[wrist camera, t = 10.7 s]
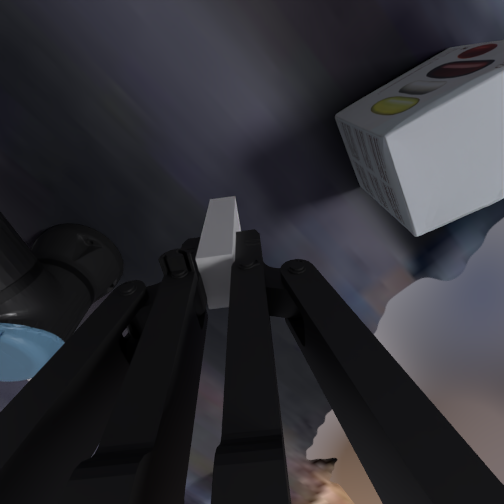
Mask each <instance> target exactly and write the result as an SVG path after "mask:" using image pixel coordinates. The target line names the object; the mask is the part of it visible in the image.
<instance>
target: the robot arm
mask: <svg viewBox="0 0 504 504" xmlns="http://www.w3.org/2000/svg"><path fill="white" fill-rule="evenodd" d="M158 260H159V263H160V265H161V268H162V271H163V274H164V277H163V280H162V282H160V283H158V284H155V285H152V286H149V287H146V286H145V284H144V283H143V282H142V281H139V280H134V281H128V282H125V283H123V284H121V285H119V286H118V287H117V288H116V289H114V290H113V291H112V293H111V294H110V295H109V296H108V297H107V298H106V299H105V300H104V301H103V302H102V303H101V304H100V305H99V307H98V308H97V309H96V310H95V311H94V312H93V313H92V314H91V315H90V316H89V317H88V318H87V320H86V321H85V322H84V323H83V324H82V325H81V326H80V327H79V328H78V329H77V330H76V328H77V327H78V325H79V323H80V322H81V320H82V319H83V317H84V316H85V314H86V313H87V311H88V309H89V308H90V306H91V305H92V304H93V303H94V302H96V301H97V300H99V299H100V298H102V297H103V296H104V295H106V294H107V293H109V292H110V291H111V290H112V289H113V288H114V287H115V286H116V285H117V283H118V281H119V280H120V278H121V276H122V273H123V260H122V257H121V254H120V252H119V251H118V249H117V247H116V246H115V245H114V244H113V243H112V242H111V241H110V240H109V239H108V238H107V237H106V236H104V235H103V234H101V233H100V232H98V231H96V230H94V229H92V228H89V227H87V226H83V225H79V224H60V225H56V226H53V227H51V228H49V229H48V230H46V231H45V232H44V233H43V234H41V235H40V236H39V237H38V238H37V239H36V241H35V242H34V244H33V246H32V248H31V250H30V249H29V247H28V246H27V245H26V244H25V242H24V241H23V240H22V239H21V237H20V236H19V235H18V233H17V232H16V231H15V230H14V228H13V227H12V226H11V224H10V223H9V222H8V221H7V219H6V218H5V217H4V216H3V214H2V213H1V212H0V381H21V380H27V379H30V378H32V379H31V380H30V381H29V382H28V383H27V384H26V385H25V386H24V387H23V389H22V390H21V391H20V392H19V393H18V394H17V395H16V396H15V397H14V398H13V399H12V400H11V401H10V403H9V404H8V405H7V406H6V407H5V408H4V409H3V410H2V411H1V412H0V504H184V495H185V486H186V478H187V471H188V463H189V456H190V448H191V441H192V433H193V426H194V419H195V411H196V404H197V396H198V389H199V381H200V374H201V366H202V359H203V351H204V344H205V336H206V329H207V321H208V314H207V310H206V303H208V307H209V309H215V308H223V307H229V315H228V332H227V350H226V367H225V385H224V402H223V420H222V436H221V443H220V445H219V446H218V447H217V449H216V453H215V459H214V468H213V482H212V496H211V504H291V497H290V489H289V481H288V472H287V463H286V455H285V446H284V437H283V429H282V420H281V411H280V402H279V394H278V385H277V376H276V368H275V359H274V350H273V342H272V333H271V324H270V316H276V317H284V318H285V321H286V323H287V325H288V327H289V329H290V331H291V333H292V335H293V336H294V338H295V340H296V342H297V344H298V346H299V348H300V349H301V351H302V353H303V355H304V357H305V359H306V361H307V363H308V364H309V366H310V368H311V370H312V372H313V374H314V376H315V378H316V379H317V381H318V383H319V385H320V387H321V389H322V391H323V393H324V394H325V396H326V398H327V400H328V402H329V404H330V406H331V407H332V409H333V411H334V413H335V415H336V417H337V418H338V421H339V422H340V424H341V426H342V428H343V430H344V432H345V434H346V436H347V437H348V439H349V441H350V443H351V445H352V447H353V449H354V451H355V452H356V454H357V456H358V458H359V460H360V462H361V464H362V466H363V467H364V469H365V471H366V473H367V475H368V477H369V479H370V480H371V482H372V484H373V486H374V488H375V490H376V492H377V493H378V495H379V497H380V499H381V501H382V503H383V504H504V485H503V484H502V483H501V482H500V481H499V480H498V478H497V477H496V476H495V475H494V474H493V473H492V472H491V470H490V469H489V468H488V467H487V466H486V465H485V463H484V462H483V461H482V460H481V459H480V458H479V457H478V455H477V454H476V453H475V452H474V451H473V450H472V448H471V447H470V446H469V445H468V444H467V443H466V441H465V440H464V439H463V438H462V437H461V436H460V435H459V433H458V432H457V431H456V430H455V429H454V427H453V426H452V425H451V424H450V423H449V422H448V421H447V419H446V418H445V417H444V416H443V415H442V414H441V413H440V411H439V410H438V409H437V408H436V407H435V405H434V404H433V403H432V402H431V401H430V400H429V399H428V397H427V396H426V395H425V394H424V393H423V392H422V391H421V390H420V388H419V387H418V386H417V385H416V384H415V382H414V381H413V380H412V379H411V378H410V377H409V375H408V374H407V373H406V372H405V371H404V370H403V368H402V367H401V366H400V365H399V364H398V363H397V361H396V360H395V359H394V358H393V357H392V356H391V354H390V353H389V352H388V351H387V350H386V349H385V348H384V347H383V345H382V344H381V343H380V342H379V341H378V339H377V338H376V337H375V336H374V335H373V334H372V332H371V331H370V330H369V329H368V328H367V327H366V326H365V324H364V323H363V322H362V321H361V320H360V319H359V317H358V316H357V315H356V314H355V313H354V312H353V310H352V309H351V308H350V307H349V306H348V305H347V304H346V302H345V301H344V300H343V299H342V298H341V297H340V295H339V294H338V293H337V292H336V291H335V290H334V288H333V287H332V286H331V285H330V284H329V283H328V282H327V280H326V279H325V278H324V277H323V276H322V275H321V273H320V272H319V271H318V270H317V269H316V268H315V266H314V265H313V264H312V263H310V262H309V261H306V260H302V259H295V260H290V261H287V262H285V263H284V264H283V265H282V266H281V268H272V267H269V266H267V265H266V264H265V263H264V262H263V257H262V250H261V242H260V234H259V233H258V232H257V231H256V230H255V229H254V230H247V231H241V228H240V222H239V216H238V210H237V204H236V198H235V196H232V197H225V198H217V199H210V203H209V207H208V211H207V215H206V218H205V222H204V226H203V230H202V234H201V237H198V238H190V239H187V240H186V241H185V242H184V243H183V244H182V247H181V249H174V250H170V251H168V252H166V253H164V254H163V255H161V256H160V258H159V259H158ZM126 328H127V330H128V334H127V335H126V336H125V337H123V335H122V333H123V331H124V330H125V329H126ZM75 330H76V331H75ZM74 331H75V332H74ZM73 333H74V334H73ZM72 334H73V335H72ZM99 443H100V444H99ZM98 445H99V446H98ZM97 446H98V449H97V451H96V453H95V454H94V455H93V453H94V451H95V450H96V448H97ZM92 455H93V456H92ZM91 456H92V457H91Z"/></svg>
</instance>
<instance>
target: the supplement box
mask: <svg viewBox="0 0 504 504" xmlns="http://www.w3.org/2000/svg"><path fill="white" fill-rule="evenodd" d="M335 120H336V123H337V126H338V128H339V131H340V134H341V136H342V139H343V142H344V145H345V147H346V150H347V153H348V155H349V158H350V161H351V163H352V166H353V169H354V172H355V174H356V177H357V180H358V182H359V185H360V187H361V188H363V189H364V190H365V191H366V192H367V193H368V194H369V195H370V196H372V197H373V198H374V199H375V200H376V201H377V202H378V203H379V204H380V205H382V206H383V207H384V208H385V209H386V210H387V211H388V212H389V213H390V214H391V215H393V216H394V217H395V218H396V219H397V220H398V221H399V222H400V223H401V224H402V225H404V226H405V227H406V228H407V229H408V230H409V231H410V232H411V233H412V234H413V235H414V236H420V235H423V234H425V233H427V232H429V231H432V230H434V229H437V228H439V227H441V226H443V225H446V224H448V223H450V222H452V221H454V220H457V219H459V218H461V217H463V216H466V215H468V214H470V213H472V212H475V211H477V210H479V209H482V208H484V207H487V206H489V205H491V204H493V203H495V202H497V201H499V200H501V199H503V198H504V40H501V41H493V42H486V43H478V44H471V45H464V46H457V47H451V48H448V49H447V50H445V51H443V52H441V53H439V54H438V55H436V56H434V57H432V58H431V59H429V60H427V61H425V62H424V63H422V64H420V65H418V66H417V67H415V68H413V69H411V70H410V71H408V72H406V73H405V74H403V75H401V76H399V77H398V78H396V79H394V80H392V81H391V82H389V83H387V84H386V85H384V86H382V87H380V88H379V89H377V90H375V91H373V92H372V93H370V94H368V95H367V96H365V97H363V98H361V99H360V100H358V101H356V102H355V103H353V104H351V105H350V106H348V107H346V108H345V109H343V110H342V111H340V112H338V113H337V114H336V115H335Z"/></svg>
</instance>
